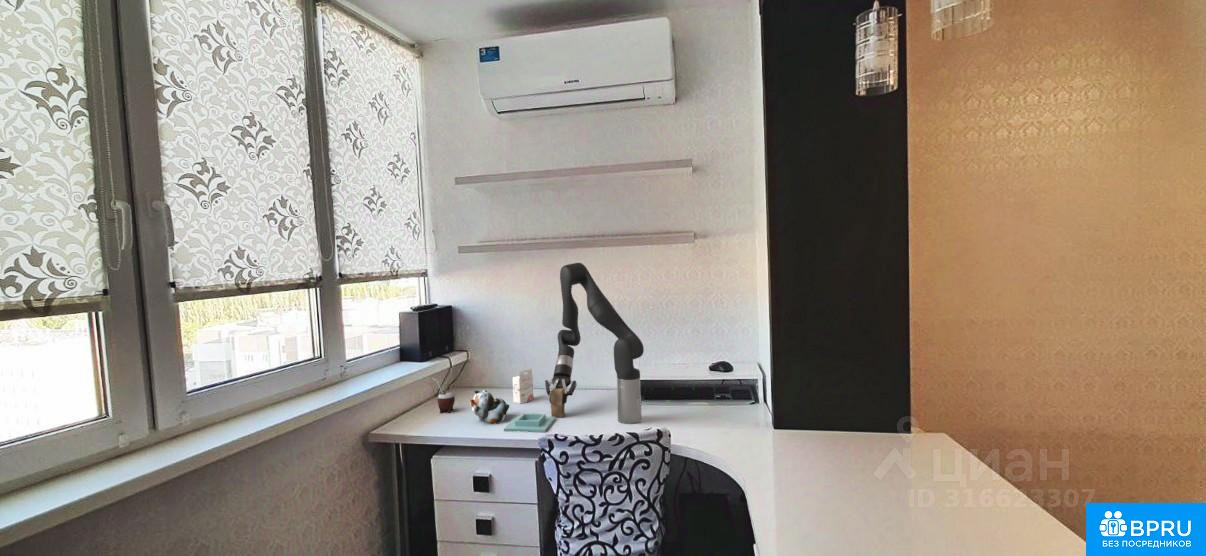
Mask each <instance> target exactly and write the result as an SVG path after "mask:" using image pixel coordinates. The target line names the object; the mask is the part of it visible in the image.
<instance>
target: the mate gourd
mask: <svg viewBox="0 0 1206 556" xmlns="http://www.w3.org/2000/svg"><path fill="white" fill-rule="evenodd" d="M431 379H432V380H433V381H435V382H436V383H437V385H438V388H439V390H440V393H439V394H438V397H437V405H438V409H439V414H443V413H448V414H451V413H452V411H454V405H455V402H456V401H455V400H456V399H455V395H454V393H453V392H452V391H444V392H443V388H442V386H441V384H440V382H439V381H438V380H437V379H435V378H433V377H432V378H431Z"/></svg>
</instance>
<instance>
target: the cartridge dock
mask: <svg viewBox="0 0 1206 556" xmlns="http://www.w3.org/2000/svg"><path fill="white" fill-rule="evenodd" d="M556 419H557V418H556V417H551V416H547V415H546V413H525V412H524V413H521V415H517V416H515V418H514V419H513V420H512V421H510V422H509V423H508V424H507V425H506V426H505V427H504V428H503V432H513V431H528V432H527V433H546V432H547V431H548V429H549V428H550V427H551V426H552V425H553V423H554V422H555V421H556Z"/></svg>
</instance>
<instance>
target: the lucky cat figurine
mask: <svg viewBox="0 0 1206 556" xmlns="http://www.w3.org/2000/svg"><path fill="white" fill-rule="evenodd" d="M469 402H470V405H469V406H470V408H471V410H472V412H473V414H474V415H475V416H477V417H478V420H479V419H480V420H483V421H485V422H487V423H489V424H491V425H494V423H496V424H500V423H501V422H503V421H504V420H505V419H506V417H507V412H508V410H509V408H510V404H508V403H507V402H506V401H505V400H504V399H503V398H500V397H499V398H498V397H496V398H494V396H493V394H492V393H491V392H489V391H487V389H483V390H482V391H479V390H474V395H473V398H472V399H470V401H469ZM499 422H500V423H499Z"/></svg>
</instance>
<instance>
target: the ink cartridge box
mask: <svg viewBox="0 0 1206 556" xmlns="http://www.w3.org/2000/svg"><path fill="white" fill-rule="evenodd" d="M533 377H534V376H533V369H532V368H529V369H525V370H522V371H519V372H518V375H517V376H513V377H512V400H513V403H515V404H520V405H521V403H522V404H524V402H525V403H527V401H528V402H531V401H533V400H534V379H533ZM530 400H531V401H530Z"/></svg>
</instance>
